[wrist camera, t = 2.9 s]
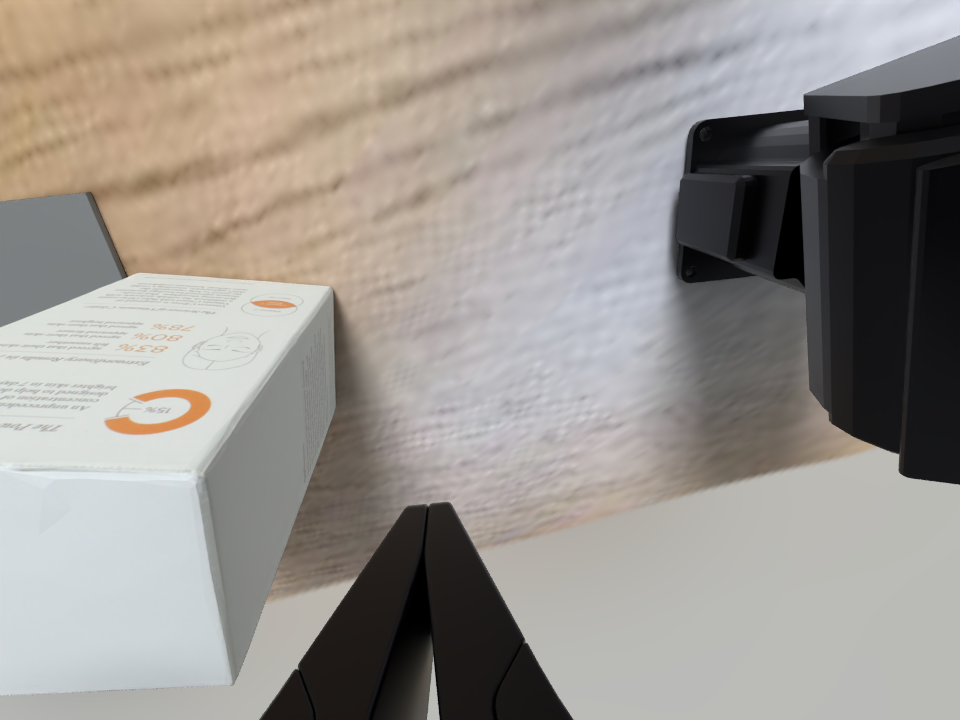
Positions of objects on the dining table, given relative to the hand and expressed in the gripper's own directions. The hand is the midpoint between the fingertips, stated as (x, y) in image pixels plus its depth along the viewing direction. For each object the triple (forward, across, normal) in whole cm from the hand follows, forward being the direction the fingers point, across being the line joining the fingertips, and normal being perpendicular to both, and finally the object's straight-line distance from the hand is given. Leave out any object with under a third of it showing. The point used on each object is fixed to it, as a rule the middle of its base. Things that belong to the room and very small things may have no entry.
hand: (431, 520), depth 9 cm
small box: (+13, +9, +1) cm, 16 cm away
